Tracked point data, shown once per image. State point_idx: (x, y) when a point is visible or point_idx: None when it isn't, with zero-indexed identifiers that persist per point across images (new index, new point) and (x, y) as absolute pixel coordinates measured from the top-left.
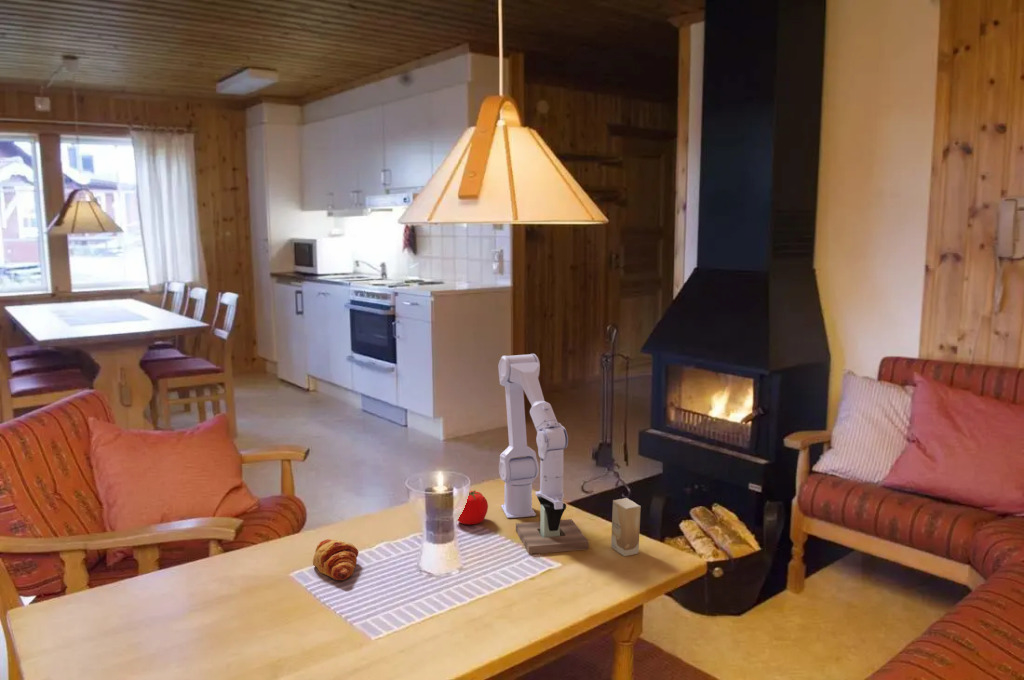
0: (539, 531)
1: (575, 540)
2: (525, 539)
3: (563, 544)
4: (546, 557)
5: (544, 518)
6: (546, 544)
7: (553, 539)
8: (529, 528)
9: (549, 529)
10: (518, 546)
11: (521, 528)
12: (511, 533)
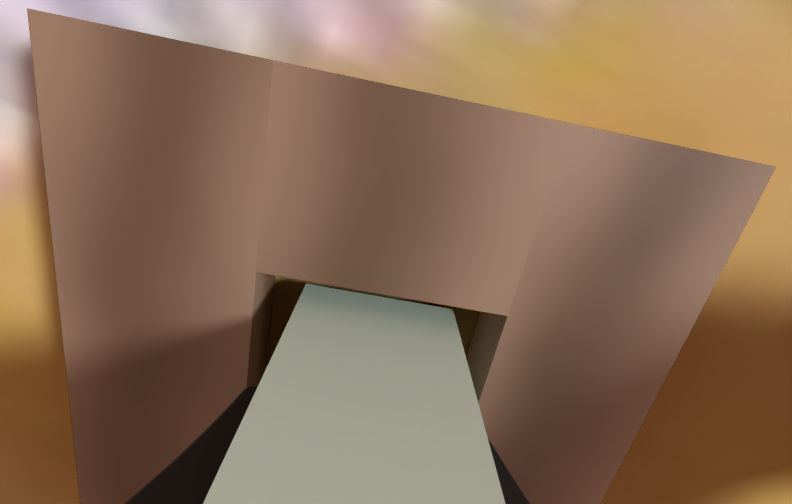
0: (490, 323)
1: (121, 487)
2: (262, 66)
3: (75, 380)
4: (10, 166)
5: (219, 469)
6: (66, 237)
7: (183, 347)
8: (548, 249)
9: (242, 394)
10: (333, 5)
11: (597, 165)
12: (679, 81)
